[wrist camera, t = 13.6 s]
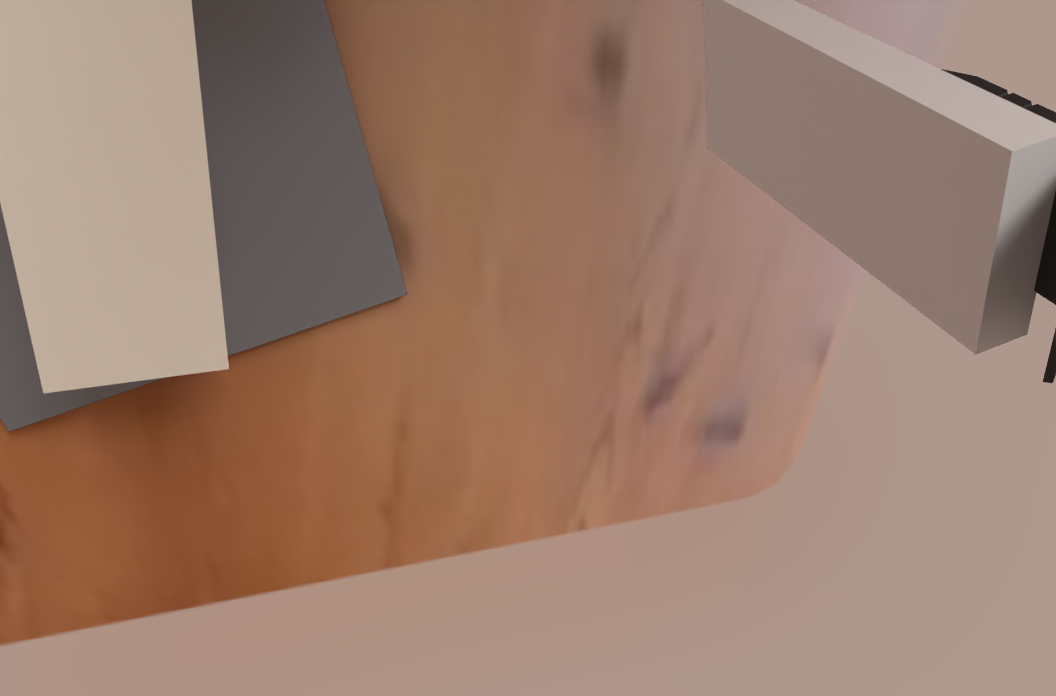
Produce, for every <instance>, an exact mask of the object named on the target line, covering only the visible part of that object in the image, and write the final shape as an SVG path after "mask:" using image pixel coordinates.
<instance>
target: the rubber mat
mask: <svg viewBox="0 0 1056 696" xmlns="http://www.w3.org/2000/svg"><path fill="white" fill-rule="evenodd" d="M191 1H192V11H193V21H194V31H195V40H196V50H197V60H198V70H199V80H200V90H201V99H202V109H203V119H204V129H205V139H206V148H207V158H208V168H209V178H210V188H211V198H212V207H213V217H214V227H215V237H216V247H217V256H218V266H219V276H220V286H221V296H222V306H223V315H224V325H225V335H226V345H227V355H228V356H230V355H233V354H236V353H239V352H242V351H244V350H247V349H250V348H253V347H256V346H259V345H262V344H265V343H268V342H271V341H273V340H276V339H279V338H282V337H285V336H288V335H291V334H294V333H297V332H300V331H302V330H305V329H308V328H311V327H314V326H317V325H320V324H323V323H326V322H329V321H331V320H334V319H337V318H340V317H343V316H346V315H349V314H352V313H355V312H358V311H360V310H363V309H366V308H369V307H372V306H375V305H378V304H381V303H384V302H386V301H389V300H392V299H395V298H398V297H401V296H404V295H407V291H406V287H405V284H404V280H403V277H402V273H401V270H400V266H399V263H398V259H397V256H396V252H395V249H394V245H393V241H392V238H391V234H390V231H389V227H388V224H387V220H386V217H385V213H384V210H383V206H382V203H381V199H380V196H379V192H378V188H377V185H376V181H375V178H374V174H373V171H372V167H371V164H370V160H369V157H368V153H367V150H366V146H365V142H364V139H363V135H362V132H361V128H360V125H359V121H358V118H357V114H356V111H355V107H354V104H353V100H352V97H351V93H350V89H349V86H348V82H347V79H346V75H345V72H344V68H343V65H342V61H341V58H340V54H339V51H338V47H337V43H336V40H335V36H334V33H333V29H332V26H331V22H330V19H329V15H328V12H327V8H326V5H325V1H324V0H191ZM165 378H166V377H165ZM160 379H163V378H157V379H150V380H142V381H134V382H127V383H119V384H112V385H104V386H97V387H89V388H81V389H74V390H66V391H59V392H51V393H44V394H43V389H42V385H41V381H40V376H39V372H38V367H37V363H36V358H35V354H34V350H33V345H32V341H31V336H30V332H29V327H28V323H27V319H26V314H25V310H24V305H23V301H22V296H21V292H20V288H19V283H18V279H17V274H16V270H15V265H14V261H13V257H12V252H11V248H10V243H9V239H8V234H7V230H6V226H5V221H4V217H3V212H2V208H1V204H0V419H1V420H2V422H3V423H4V425H5V426H6V428H7V429H8V431H9V432H10V431H13V430H15V429H18V428H21V427H24V426H27V425H30V424H33V423H36V422H39V421H42V420H44V419H47V418H50V417H53V416H56V415H59V414H62V413H65V412H68V411H71V410H73V409H76V408H79V407H82V406H85V405H88V404H91V403H94V402H97V401H100V400H102V399H105V398H108V397H111V396H114V395H117V394H120V393H123V392H126V391H129V390H131V389H134V388H137V387H140V386H143V385H146V384H149V383H152V382H155V381H158V380H160Z"/></svg>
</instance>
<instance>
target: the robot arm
mask: <svg viewBox="0 0 1056 696" xmlns="http://www.w3.org/2000/svg"><path fill="white" fill-rule="evenodd" d="M703 18H704V49H705V80H706V111H707V142H708V149H709V150H711V151H712V152H713V153H715V154H716V155H717V156H719V157H720V158H721V159H722V160H724V161H725V162H726V163H728V164H729V165H730V166H732V167H733V168H734V169H735V170H737V171H738V172H739V173H741V174H742V175H743V176H745V177H746V178H747V179H748V180H750V181H751V182H752V183H754V184H755V185H756V186H757V187H759V188H760V189H761V190H763V191H764V192H765V193H767V194H768V195H769V196H770V197H772V198H773V199H774V200H776V201H777V202H778V203H780V204H781V205H782V206H783V207H785V208H786V209H787V210H789V211H790V212H791V213H793V214H794V215H795V216H796V217H798V218H799V219H800V220H802V221H803V222H804V223H806V224H807V225H808V226H809V227H811V228H812V229H813V230H815V231H816V232H817V233H819V234H820V235H821V236H822V237H824V238H825V239H826V240H828V241H829V242H830V243H831V244H833V245H834V246H835V247H837V248H838V249H839V250H841V251H842V252H843V253H844V254H846V255H847V256H848V257H850V258H851V259H852V260H854V261H855V262H856V263H857V264H859V265H860V266H861V267H863V268H864V269H865V270H867V271H868V272H869V273H871V274H872V275H873V276H874V277H876V278H877V279H878V280H880V281H881V282H882V283H884V284H885V285H886V286H887V287H889V288H890V289H891V290H893V291H894V292H895V293H897V294H898V295H899V296H901V297H902V298H903V299H904V300H906V301H907V302H908V303H909V304H911V305H912V306H913V307H915V308H916V309H917V310H918V311H920V312H921V313H922V314H924V315H925V316H926V317H928V318H929V319H930V320H932V321H933V322H934V323H935V324H937V325H938V326H939V327H941V328H942V329H943V330H945V331H946V332H947V333H948V334H950V335H951V336H952V337H954V338H955V339H956V340H957V341H959V342H960V343H962V344H963V345H964V346H965V347H967V348H968V349H969V350H970V351H972V352H973V353H974V354H978V353H981V352H983V351H986V350H988V349H991V348H993V347H996V346H999V345H1001V344H1004V343H1006V342H1009V341H1011V340H1014V339H1016V338H1019V337H1021V336H1024V335H1027V333H1028V328H1029V323H1030V319H1031V314H1032V309H1033V305H1034V300H1035V296H1036V292H1037V293H1039V294H1040V295H1042V296H1043V297H1045V298H1046V299H1048V300H1049V301H1051V302H1053V303H1054V304H1055V305H1056V112H1054V111H1051V110H1049V109H1047V108H1045V107H1043V106H1040V105H1038V104H1036V105H1033V106H1032V104H1031V101H1030V100H1027V99H1025V98H1023V97H1021V96H1019V95H1017V94H1014V93H1011V94H1008V93H1007V90H1006V89H1003V88H1001V87H999V86H997V85H995V84H993V83H990V82H988V81H986V80H984V79H982V78H979V77H977V76H972V75H967V74H962V73H957V72H953V71H948V70H943V69H939V68H937V67H935V66H933V65H930V64H928V63H926V62H924V61H922V60H920V59H918V58H915V57H913V56H911V55H909V54H907V53H905V52H903V51H901V50H898V49H896V48H894V47H892V46H890V45H888V44H886V43H884V42H881V41H879V40H877V39H875V38H873V37H871V36H869V35H867V34H864V33H862V32H860V31H858V30H856V29H854V28H852V27H849V26H847V25H845V24H843V23H841V22H839V21H837V20H835V19H832V18H830V17H828V16H826V15H824V14H822V13H820V12H818V11H815V10H813V9H811V8H809V7H807V6H805V5H803V4H801V3H798V2H796V1H794V0H703ZM1055 375H1056V329H1055V334H1054V338H1053V342H1052V346H1051V350H1050V354H1049V358H1048V362H1047V367H1046V371H1045V375H1044V379H1043V382H1048V383H1053V381H1054V378H1055Z"/></svg>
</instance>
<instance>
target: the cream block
mask: <svg viewBox="0 0 1056 696" xmlns="http://www.w3.org/2000/svg"><path fill="white" fill-rule="evenodd" d="M0 204H1V208H2V212H3V217H4V221H5V226H6V230H7V234H8V239H9V243H10V248H11V252H12V257H13V261H14V265H15V270H16V274H17V279H18V283H19V288H20V292H21V296H22V301H23V305H24V310H25V314H26V319H27V323H28V327H29V332H30V336H31V341H32V345H33V350H34V354H35V358H36V363H37V367H38V372H39V376H40V381H41V385H42V389H43V394H44V393H51V392H59V391H66V390H74V389H81V388H89V387H97V386H104V385H112V384H119V383H127V382H134V381H142V380H150V379H157V378H165V377H172V376H180V375H187V374H195V373H203V372H210V371H218V370H225V369H229V364H228V355H227V345H226V335H225V325H224V315H223V306H222V296H221V286H220V276H219V266H218V256H217V247H216V237H215V227H214V217H213V207H212V198H211V188H210V178H209V168H208V158H207V148H206V139H205V129H204V119H203V109H202V99H201V90H200V80H199V70H198V60H197V50H196V40H195V31H194V21H193V11H192V1H191V0H0Z"/></svg>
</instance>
